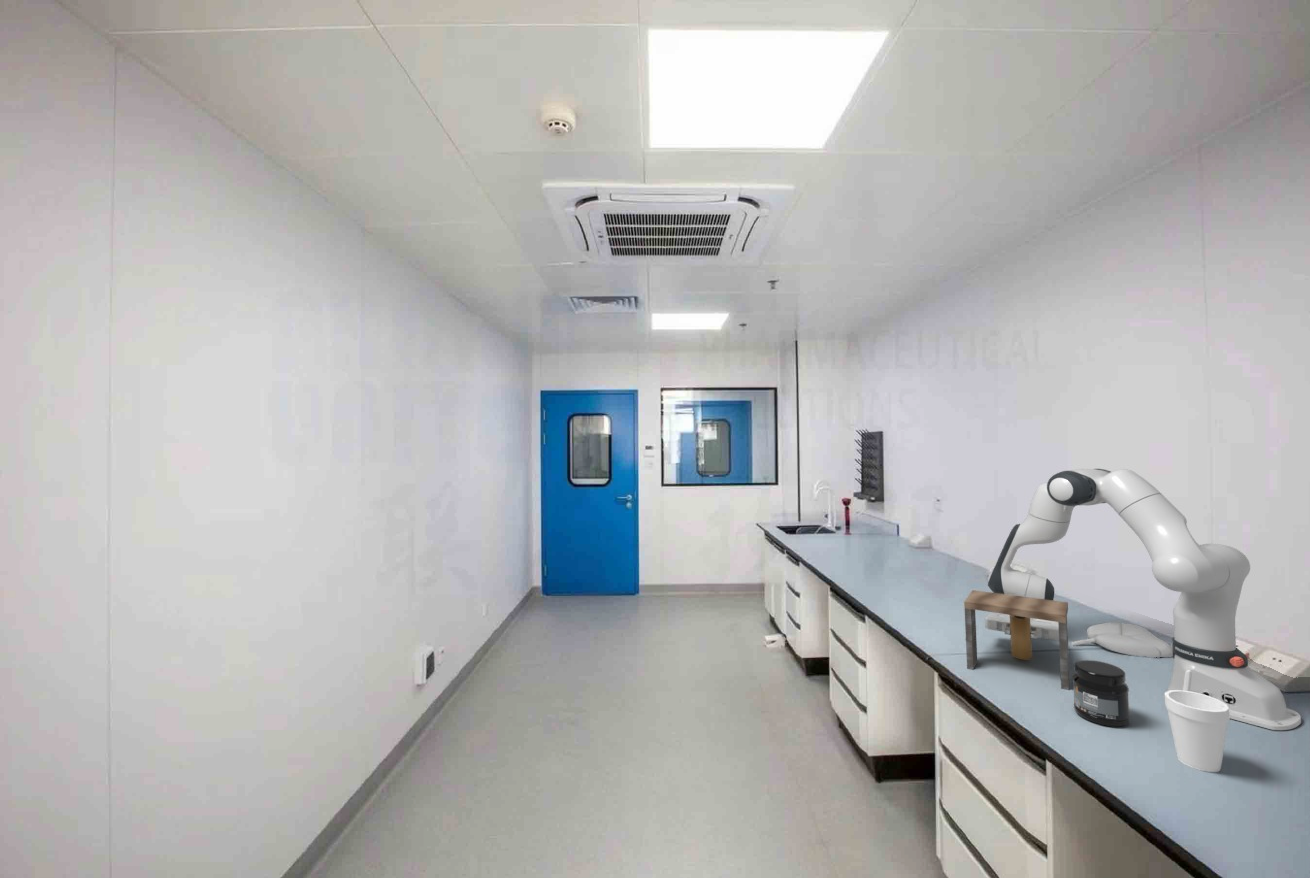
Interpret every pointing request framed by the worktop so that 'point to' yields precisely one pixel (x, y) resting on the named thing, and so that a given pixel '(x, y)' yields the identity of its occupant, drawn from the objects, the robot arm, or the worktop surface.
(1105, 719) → the supplement container
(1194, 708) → the foam cup
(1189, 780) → the worktop surface
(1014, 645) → the amber bottle
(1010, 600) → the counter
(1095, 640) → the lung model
